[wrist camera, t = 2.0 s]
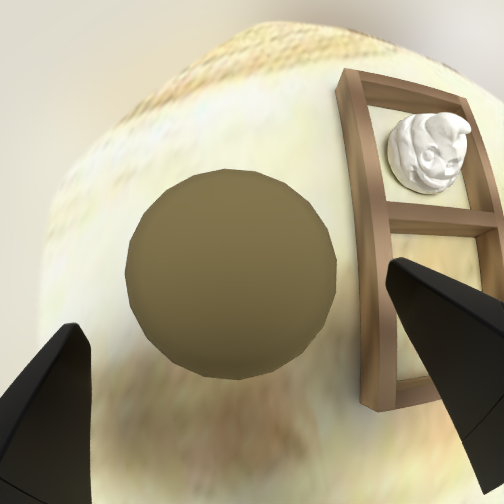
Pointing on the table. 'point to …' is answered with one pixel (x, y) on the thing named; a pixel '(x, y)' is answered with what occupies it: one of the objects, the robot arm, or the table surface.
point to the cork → (231, 274)
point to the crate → (407, 224)
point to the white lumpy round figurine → (428, 150)
